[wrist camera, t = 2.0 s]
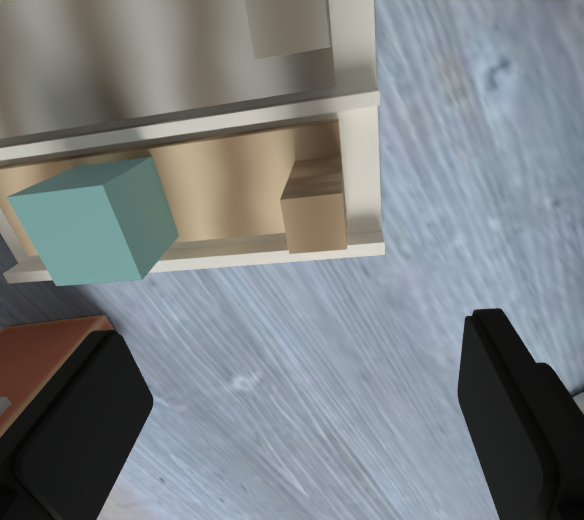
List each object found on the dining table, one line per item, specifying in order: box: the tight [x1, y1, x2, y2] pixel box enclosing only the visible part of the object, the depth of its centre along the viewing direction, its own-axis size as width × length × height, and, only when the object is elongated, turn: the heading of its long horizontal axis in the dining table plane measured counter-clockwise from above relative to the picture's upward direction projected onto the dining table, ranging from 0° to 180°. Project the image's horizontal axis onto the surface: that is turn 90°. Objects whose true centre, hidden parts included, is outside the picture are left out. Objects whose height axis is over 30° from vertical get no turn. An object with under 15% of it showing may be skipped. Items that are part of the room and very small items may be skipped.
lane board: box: [0, 0, 385, 284], centre depth 25 cm, size 32×21×3 cm, turn 99°
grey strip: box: [0, 0, 336, 139], centre depth 19 cm, size 26×7×9 cm, turn 99°
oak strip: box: [0, 118, 347, 256], centre depth 24 cm, size 26×7×9 cm, turn 99°
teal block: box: [7, 157, 179, 286], centre depth 24 cm, size 6×6×6 cm
